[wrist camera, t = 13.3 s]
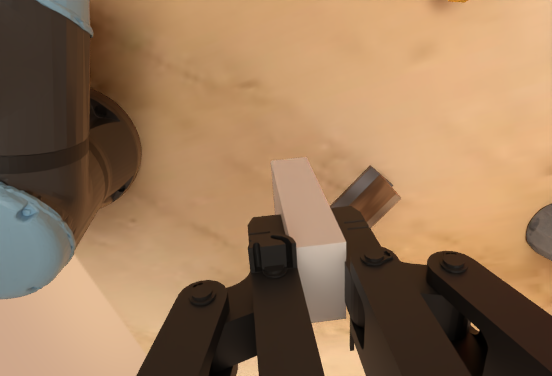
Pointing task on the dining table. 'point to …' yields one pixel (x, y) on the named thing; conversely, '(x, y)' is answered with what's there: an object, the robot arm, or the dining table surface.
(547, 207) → the moka pot
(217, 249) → the dining table surface
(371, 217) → the fence
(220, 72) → the dining table surface
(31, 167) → the robot arm
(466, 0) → the teapot
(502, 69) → the dining table surface
